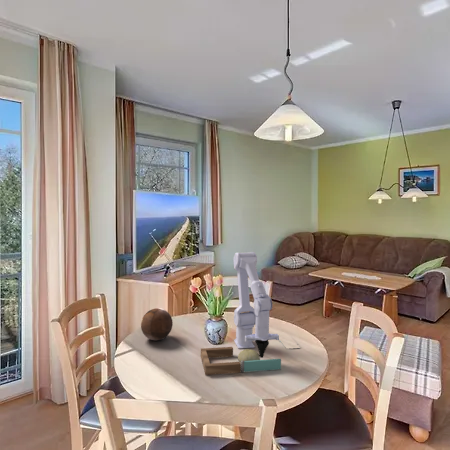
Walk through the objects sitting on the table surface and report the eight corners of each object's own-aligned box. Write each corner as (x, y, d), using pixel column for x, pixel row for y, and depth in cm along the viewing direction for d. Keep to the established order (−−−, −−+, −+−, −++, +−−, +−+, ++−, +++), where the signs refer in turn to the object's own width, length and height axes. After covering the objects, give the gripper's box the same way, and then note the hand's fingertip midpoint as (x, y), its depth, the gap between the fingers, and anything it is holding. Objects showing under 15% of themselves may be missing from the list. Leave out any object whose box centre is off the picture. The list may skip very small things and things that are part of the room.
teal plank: (241, 372, 130) (241, 362, 130) (240, 370, 131) (240, 360, 131) (280, 369, 133) (281, 359, 133) (279, 367, 134) (280, 357, 134)
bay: (200, 356, 143) (200, 348, 143) (232, 354, 146) (232, 346, 146) (205, 375, 128) (205, 366, 127) (240, 372, 130) (240, 363, 130)
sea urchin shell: (244, 350, 146) (255, 341, 142) (254, 366, 143) (266, 357, 139) (232, 357, 139) (243, 348, 135) (242, 374, 136) (254, 365, 132)
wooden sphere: (177, 335, 166) (177, 306, 165) (164, 347, 151) (164, 315, 150) (149, 331, 169) (150, 303, 168) (134, 343, 155) (135, 312, 154)
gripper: (248, 329, 134) (247, 362, 135) (281, 328, 137) (280, 359, 138) (243, 323, 141) (242, 354, 142) (275, 322, 144) (274, 352, 145)
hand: (261, 356), depth 140 cm, fingers closed
